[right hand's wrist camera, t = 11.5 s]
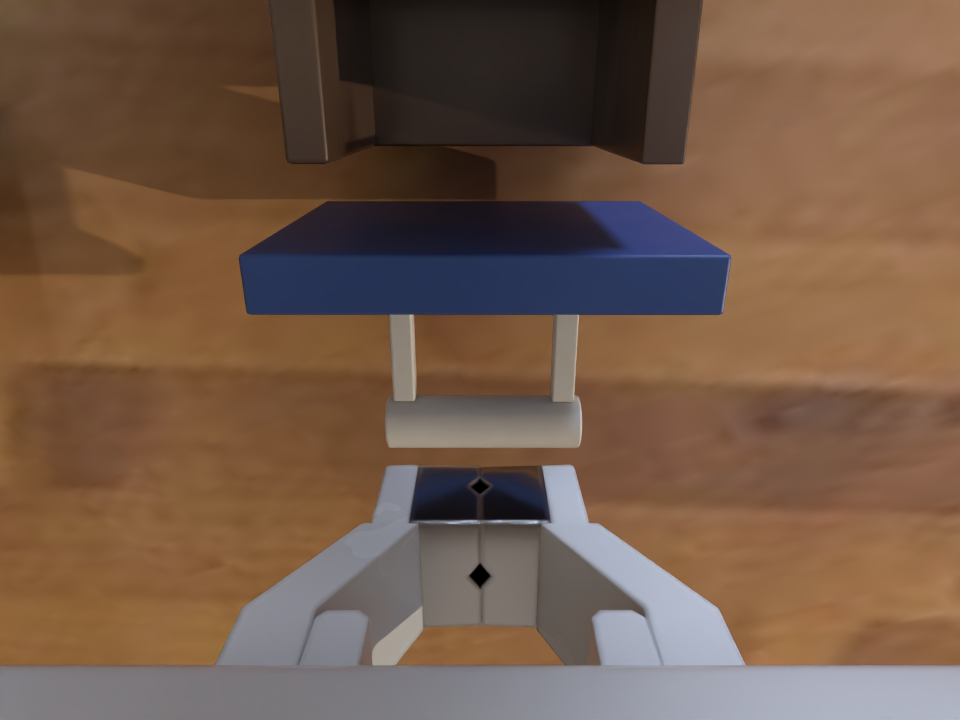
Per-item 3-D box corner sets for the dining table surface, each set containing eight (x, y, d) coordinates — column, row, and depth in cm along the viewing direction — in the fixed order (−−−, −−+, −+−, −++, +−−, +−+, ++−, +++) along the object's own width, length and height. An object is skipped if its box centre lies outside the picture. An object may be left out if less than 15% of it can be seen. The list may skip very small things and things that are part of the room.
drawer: (623, 396, 21) (691, 535, 14) (342, 396, 21) (277, 535, 14) (687, -295, 15) (867, -646, 8) (281, -295, 15) (107, -645, 8)
